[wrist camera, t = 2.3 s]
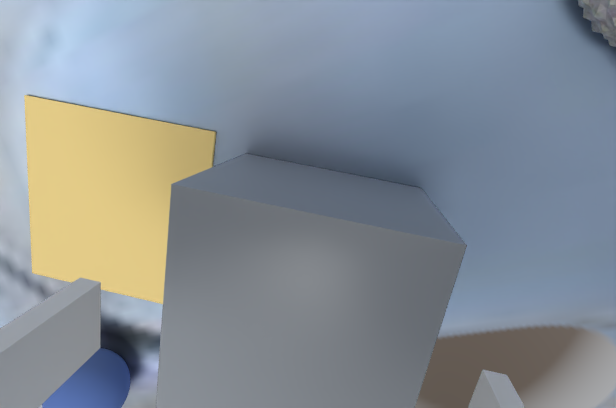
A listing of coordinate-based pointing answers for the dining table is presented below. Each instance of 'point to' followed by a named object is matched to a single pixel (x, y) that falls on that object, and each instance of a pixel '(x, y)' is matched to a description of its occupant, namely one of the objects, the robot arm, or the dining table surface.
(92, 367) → the ball
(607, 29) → the sea urchin shell
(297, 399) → the grey cube
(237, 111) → the dining table surface
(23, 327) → the robot arm
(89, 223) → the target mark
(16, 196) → the dining table surface
